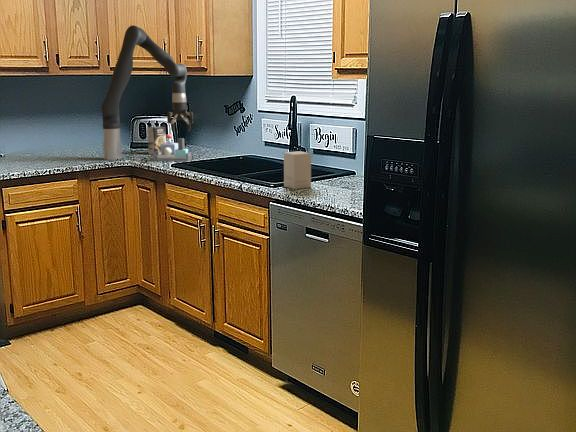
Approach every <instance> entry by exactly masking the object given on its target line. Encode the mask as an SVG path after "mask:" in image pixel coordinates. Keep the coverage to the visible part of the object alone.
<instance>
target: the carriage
mask: <svg viewBox="0 0 576 432" xmlns="http://www.w3.org/2000/svg"><path fill="white" fill-rule="evenodd" d="M177 143H178V149H176V150H175V157H176V158H186V153H188V152H189V148H185V146H186V145H185V138H184V137H183V138H181V137H180V138H177Z"/></svg>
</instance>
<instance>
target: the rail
mask: <svg viewBox="0 0 576 432" xmlns="http://www.w3.org/2000/svg"><path fill="white" fill-rule="evenodd" d="M152 158H153V162H190V161H192V151H188V153H186V158H176V157H175V155H161V154H160V155H159V153H158V151H156V152H154V153H153V155H152Z"/></svg>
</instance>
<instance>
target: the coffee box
mask: <svg viewBox="0 0 576 432" xmlns="http://www.w3.org/2000/svg"><path fill="white" fill-rule="evenodd" d="M166 133H167V131H166V126H149V127H147V147H148V148H147V149H148V152H147V153H148V155H151V156H153V153H154V152H156V151H158V153H159V155H161V144H163V143H167V138H166V135H167V134H166Z"/></svg>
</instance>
